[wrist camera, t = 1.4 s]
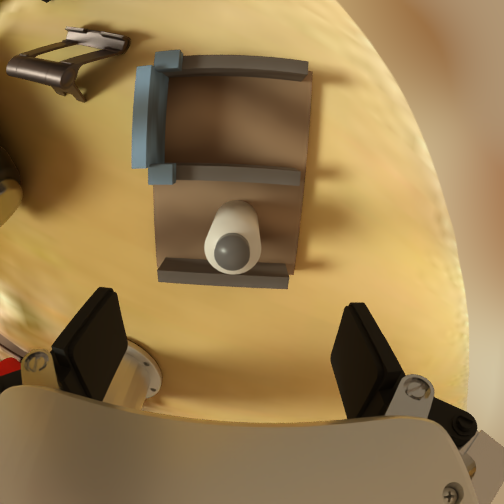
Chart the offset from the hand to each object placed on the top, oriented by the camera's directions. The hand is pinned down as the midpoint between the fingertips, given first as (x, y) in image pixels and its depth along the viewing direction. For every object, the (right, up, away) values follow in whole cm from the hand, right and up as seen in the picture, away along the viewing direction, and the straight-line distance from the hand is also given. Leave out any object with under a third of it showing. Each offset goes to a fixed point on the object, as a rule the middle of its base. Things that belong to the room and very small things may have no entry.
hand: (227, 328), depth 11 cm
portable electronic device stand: (-16, +23, +10) cm, 30 cm away
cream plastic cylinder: (0, +6, +15) cm, 17 cm away
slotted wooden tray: (-1, +11, +15) cm, 18 cm away
